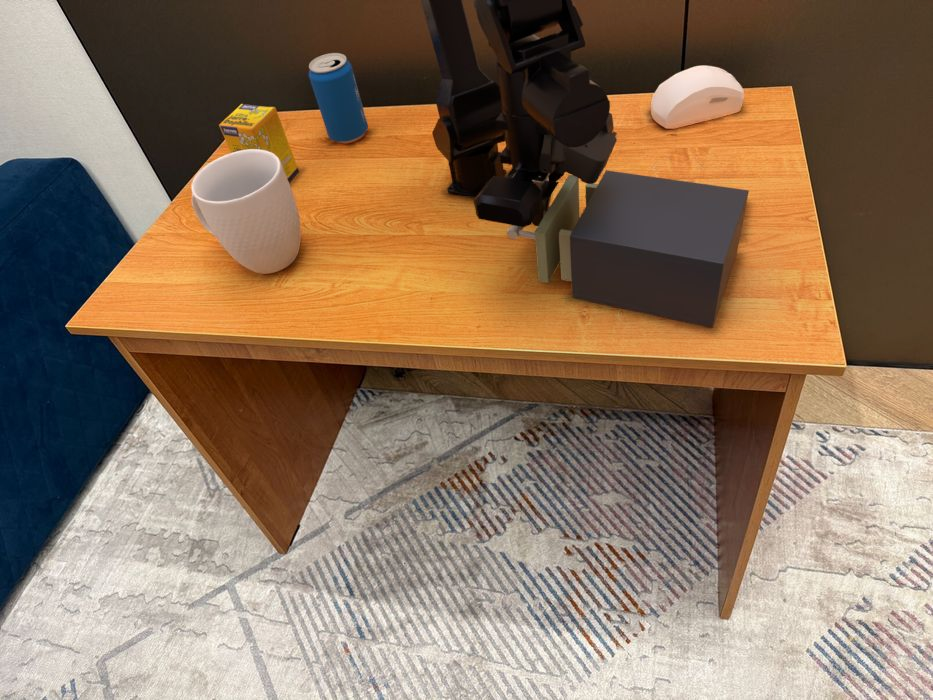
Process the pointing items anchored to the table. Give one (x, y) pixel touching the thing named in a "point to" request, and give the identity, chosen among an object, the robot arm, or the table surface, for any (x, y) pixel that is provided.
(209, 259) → the table surface
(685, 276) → the cabinet
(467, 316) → the table surface
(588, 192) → the drawer
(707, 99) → the computer mouse
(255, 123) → the supplement box
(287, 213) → the mug
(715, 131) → the table surface
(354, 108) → the beverage can
